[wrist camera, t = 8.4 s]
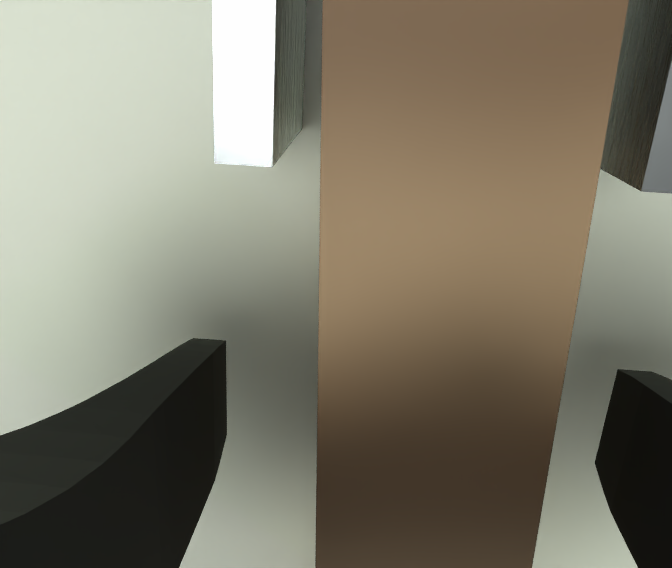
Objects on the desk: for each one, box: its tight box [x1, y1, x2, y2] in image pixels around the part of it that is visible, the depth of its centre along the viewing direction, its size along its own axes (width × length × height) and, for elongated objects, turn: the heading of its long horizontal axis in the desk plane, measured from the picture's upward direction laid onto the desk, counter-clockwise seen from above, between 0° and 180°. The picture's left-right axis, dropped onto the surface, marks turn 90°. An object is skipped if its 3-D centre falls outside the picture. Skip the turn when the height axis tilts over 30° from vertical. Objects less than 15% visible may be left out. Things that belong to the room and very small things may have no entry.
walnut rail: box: [316, 0, 629, 568], centre depth 12 cm, size 16×3×6 cm, turn 179°
